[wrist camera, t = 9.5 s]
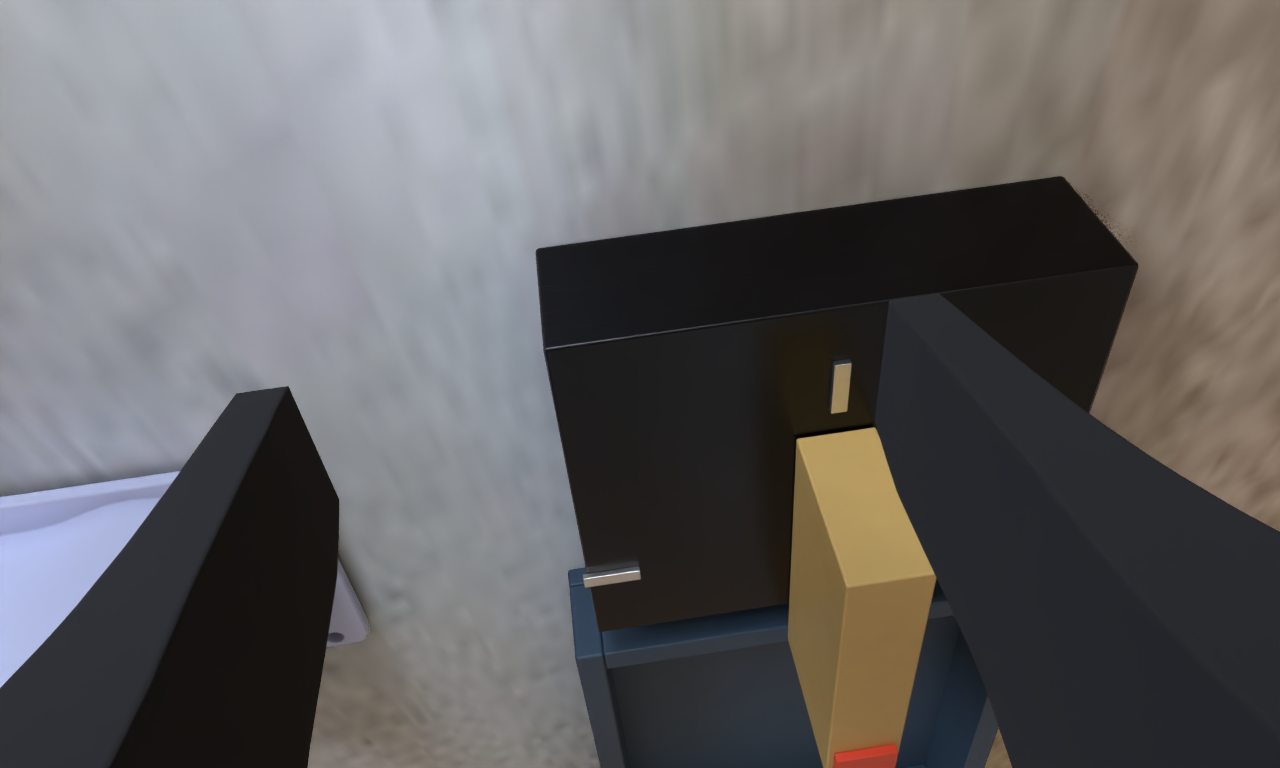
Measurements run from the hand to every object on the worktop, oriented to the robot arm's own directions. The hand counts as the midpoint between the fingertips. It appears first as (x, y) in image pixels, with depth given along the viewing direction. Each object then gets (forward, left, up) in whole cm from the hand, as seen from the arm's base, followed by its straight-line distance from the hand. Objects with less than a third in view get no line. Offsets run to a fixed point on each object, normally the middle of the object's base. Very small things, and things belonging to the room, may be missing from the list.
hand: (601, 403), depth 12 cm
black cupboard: (+5, -11, -9) cm, 15 cm away
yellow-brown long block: (+5, -12, -6) cm, 14 cm away
